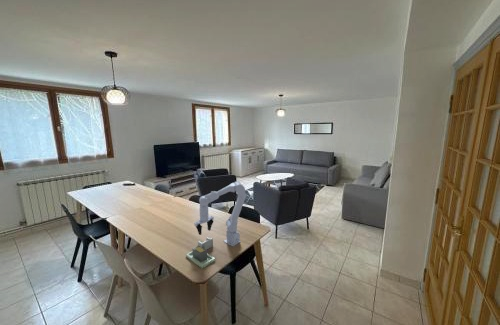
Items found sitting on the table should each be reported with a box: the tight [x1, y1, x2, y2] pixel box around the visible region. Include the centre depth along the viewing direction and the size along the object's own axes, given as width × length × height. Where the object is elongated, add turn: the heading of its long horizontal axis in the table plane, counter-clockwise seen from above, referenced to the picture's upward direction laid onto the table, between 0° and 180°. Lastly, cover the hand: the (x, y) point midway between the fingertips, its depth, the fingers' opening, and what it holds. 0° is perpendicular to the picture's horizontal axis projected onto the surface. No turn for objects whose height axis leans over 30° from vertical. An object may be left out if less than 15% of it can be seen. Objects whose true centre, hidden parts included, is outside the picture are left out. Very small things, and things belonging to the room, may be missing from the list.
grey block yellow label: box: [191, 244, 208, 262], centre depth 125 cm, size 9×5×6 cm, turn 49°
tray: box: [185, 251, 216, 269], centre depth 125 cm, size 17×10×2 cm, turn 49°
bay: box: [197, 236, 214, 251], centre depth 138 cm, size 6×8×6 cm
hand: (204, 232), depth 138 cm, fingers open, 7 cm apart
